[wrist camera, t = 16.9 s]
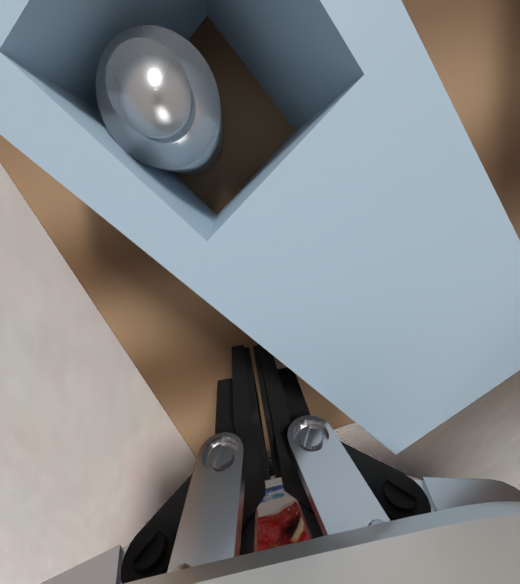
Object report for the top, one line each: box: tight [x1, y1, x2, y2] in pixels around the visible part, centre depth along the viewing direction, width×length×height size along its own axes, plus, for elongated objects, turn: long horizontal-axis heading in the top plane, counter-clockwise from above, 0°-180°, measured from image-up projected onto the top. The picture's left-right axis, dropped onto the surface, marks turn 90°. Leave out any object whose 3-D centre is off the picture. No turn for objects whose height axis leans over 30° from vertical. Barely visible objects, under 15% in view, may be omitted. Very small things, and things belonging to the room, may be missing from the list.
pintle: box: [95, 25, 223, 175], centre depth 7 cm, size 2×2×5 cm
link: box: [0, 0, 520, 455], centre depth 8 cm, size 18×6×5 cm, turn 44°
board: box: [0, 0, 520, 458], centre depth 11 cm, size 24×24×1 cm
